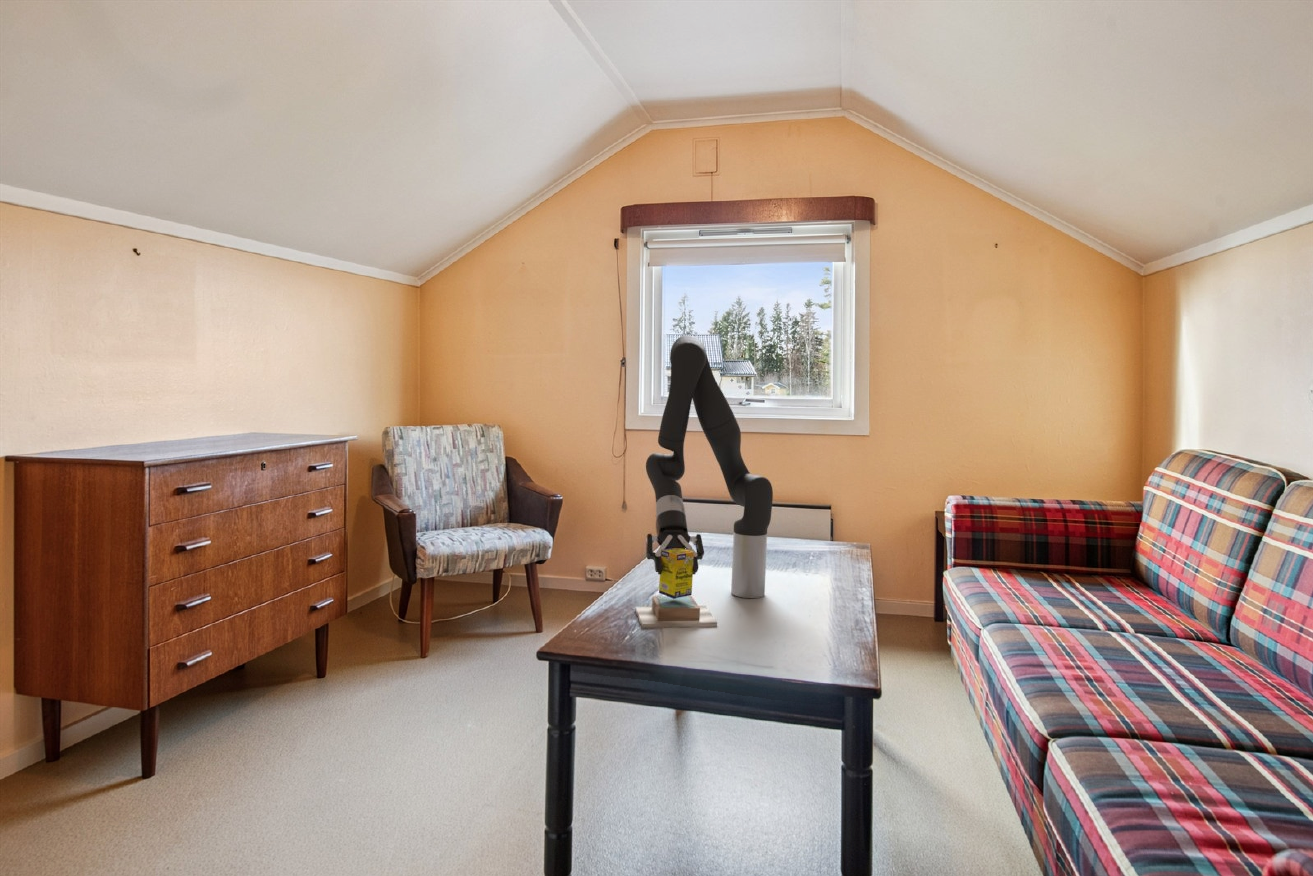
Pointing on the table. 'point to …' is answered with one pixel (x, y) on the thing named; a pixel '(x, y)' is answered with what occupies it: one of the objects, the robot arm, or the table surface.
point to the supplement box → (676, 572)
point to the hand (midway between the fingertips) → (677, 572)
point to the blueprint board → (654, 623)
